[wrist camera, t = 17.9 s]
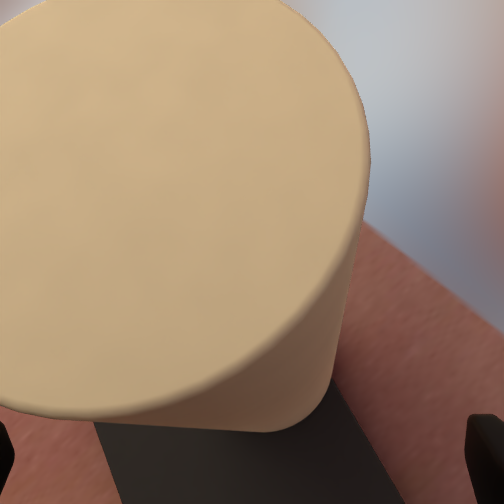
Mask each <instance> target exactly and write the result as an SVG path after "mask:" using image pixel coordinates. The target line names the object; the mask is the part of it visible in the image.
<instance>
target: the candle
mask: <svg viewBox="0 0 504 504" xmlns="http://www.w3.org/2000/svg"><path fill="white" fill-rule="evenodd" d="M369 140H370V139H369V130H368V126H367V121H366V116H365V111H364V107H363V103H362V101H361V98H360V96H359V93H358V91H357V88H356V85H355V83H354V81H353V78H352V77H351V75H350V73H349V72H348V70H347V68H346V66H345V65H344V63H343V61H342V60H341V58H340V56H339V54H338V53H337V51H336V50H335V49H334V48H333V47H332V45H331V44H330V43H329V42H328V40H327V39H326V38H325V37H324V36H323V34H322V33H321V32H320V31H319V30H318V29H317V28H316V27H314V26H313V25H312V24H311V23H310V22H309V21H308V20H307V19H306V18H304V17H303V16H302V15H301V14H300V13H298V12H297V11H295V10H294V9H292V8H291V7H289V6H288V5H286V4H285V3H283V2H282V1H280V0H46V1H44V2H42V3H40V4H38V5H36V6H34V7H32V8H30V9H28V10H26V11H25V12H23V13H21V14H20V15H18V16H16V17H15V18H13V19H11V20H10V21H8V22H6V23H5V24H3V25H2V26H1V27H0V406H3V407H6V408H8V409H11V410H14V411H17V412H20V413H25V414H30V415H35V416H40V417H45V418H50V419H59V420H75V421H90V422H106V423H122V424H138V425H154V426H170V427H186V428H202V429H217V430H233V431H249V432H273V431H278V430H282V429H285V428H288V427H291V426H293V425H295V424H296V423H298V422H300V421H302V420H303V419H304V418H306V417H307V416H308V415H309V414H310V413H311V412H312V411H313V410H314V409H315V408H316V407H317V406H318V404H319V403H320V402H321V400H322V398H323V397H324V395H325V393H326V391H327V388H328V386H329V383H330V379H331V375H332V371H333V366H334V361H335V356H336V351H337V346H338V341H339V336H340V331H341V326H342V321H343V316H344V311H345V305H346V300H347V295H348V290H349V285H350V280H351V275H352V270H353V265H354V260H355V255H356V250H357V245H358V240H359V235H360V230H361V225H362V220H363V215H364V210H365V205H366V200H367V195H368V186H369V175H370V165H371V158H370V141H369Z"/></svg>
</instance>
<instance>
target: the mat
mask: <svg viewBox="0 0 504 504" xmlns="http://www.w3.org/2000/svg"><path fill="white" fill-rule="evenodd" d="M93 423H94V426H95V428H96V431H97V434H98V437H99V439H100V442H101V445H102V448H103V451H104V453H105V456H106V459H107V462H108V465H109V467H110V470H111V473H112V476H113V479H114V481H115V484H116V487H117V490H118V493H119V495H120V498H121V501H122V504H405V503H404V501H403V499H402V498H401V496H400V494H399V492H398V491H397V489H396V487H395V486H394V484H393V482H392V480H391V479H390V477H389V475H388V473H387V472H386V470H385V468H384V467H383V465H382V463H381V461H380V460H379V458H378V456H377V455H376V453H375V451H374V449H373V448H372V446H371V444H370V443H369V441H368V439H367V437H366V436H365V434H364V432H363V431H362V429H361V427H360V425H359V424H358V422H357V420H356V419H355V417H354V415H353V413H352V412H351V410H350V408H349V407H348V405H347V403H346V401H345V400H344V398H343V396H342V395H341V393H340V391H339V389H338V388H337V386H336V384H335V383H334V381H333V379H332V377H331V379H330V383H329V386H328V388H327V391H326V393H325V395H324V397H323V398H322V400H321V402H320V403H319V404H318V406H317V407H316V408H315V409H314V410H313V411H312V412H311V413H310V414H309V415H308V416H307V417H306V418H304V419H303V420H302V421H300V422H298V423H296V424H295V425H293V426H291V427H288V428H285V429H282V430H278V431H273V432H249V431H233V430H217V429H202V428H186V427H170V426H154V425H138V424H122V423H106V422H93Z"/></svg>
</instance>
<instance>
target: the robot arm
mask: <svg viewBox="0 0 504 504" xmlns="http://www.w3.org/2000/svg"><path fill="white" fill-rule="evenodd" d="M464 450H465V459H466V464H467V468H468V471H469V475H470V478H471V482H472V486H473V489H474V493H475V496H476V500H477V504H504V422H503V421H502V420H501V419H499V418H498V417H497V416H495V415H493V414H472V415H470V416H469V418H468V420H467V429H466V438H465V449H464ZM14 457H15V453H14V448H13V446H12V443H11V441H10V438H9V435H8V433H7V430H6V428H5V426H4V424H3V423H2V422H1V421H0V495H1V492H2V490H3V487H4V485H5V483H6V480H7V478H8V475H9V473H10V470H11V468H12V466H13V463H14Z"/></svg>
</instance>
